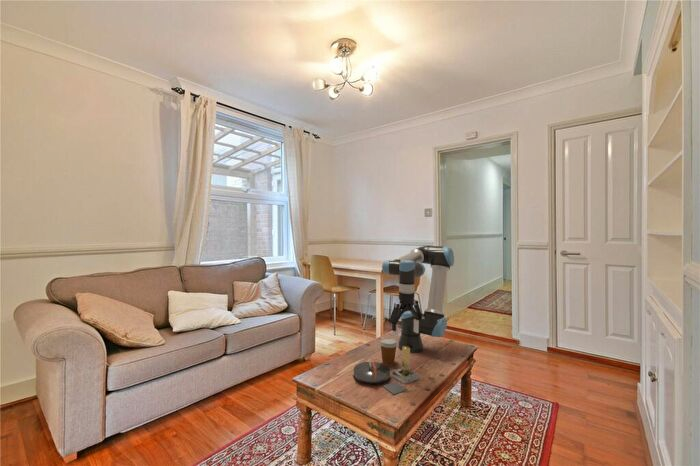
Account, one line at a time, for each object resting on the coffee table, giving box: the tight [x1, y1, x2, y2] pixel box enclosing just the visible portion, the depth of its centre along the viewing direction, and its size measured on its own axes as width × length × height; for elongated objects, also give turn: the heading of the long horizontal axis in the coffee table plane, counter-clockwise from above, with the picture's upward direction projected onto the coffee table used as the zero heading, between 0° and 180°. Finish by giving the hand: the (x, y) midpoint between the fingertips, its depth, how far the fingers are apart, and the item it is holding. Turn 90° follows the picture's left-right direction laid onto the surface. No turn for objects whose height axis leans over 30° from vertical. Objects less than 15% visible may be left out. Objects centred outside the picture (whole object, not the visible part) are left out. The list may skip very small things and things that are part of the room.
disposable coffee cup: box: [379, 337, 398, 366], centre depth 163 cm, size 10×10×12 cm
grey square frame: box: [392, 367, 420, 385], centre depth 148 cm, size 9×9×2 cm
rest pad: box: [382, 381, 408, 396], centre depth 138 cm, size 8×8×1 cm
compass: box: [353, 361, 391, 384], centre depth 148 cm, size 18×18×7 cm
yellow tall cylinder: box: [401, 346, 411, 376], centre depth 147 cm, size 4×4×15 cm
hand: (405, 335), depth 147 cm, fingers open, 13 cm apart
